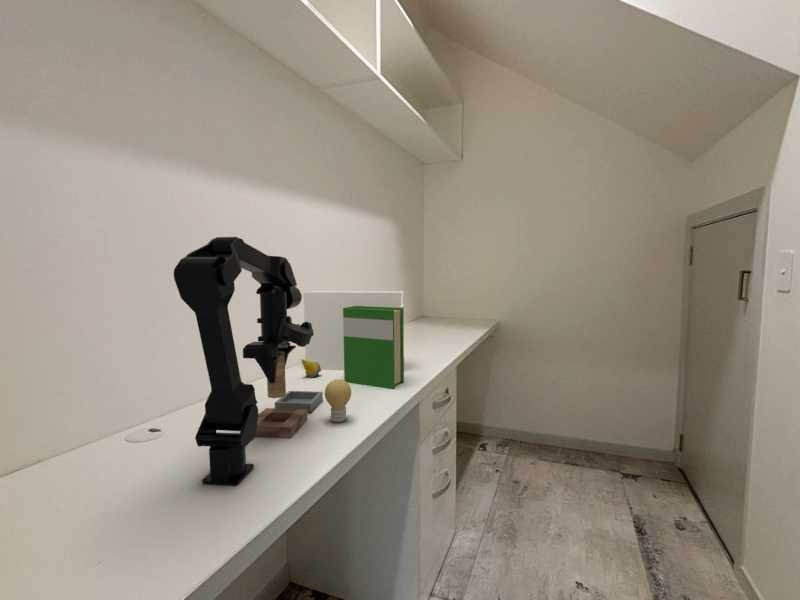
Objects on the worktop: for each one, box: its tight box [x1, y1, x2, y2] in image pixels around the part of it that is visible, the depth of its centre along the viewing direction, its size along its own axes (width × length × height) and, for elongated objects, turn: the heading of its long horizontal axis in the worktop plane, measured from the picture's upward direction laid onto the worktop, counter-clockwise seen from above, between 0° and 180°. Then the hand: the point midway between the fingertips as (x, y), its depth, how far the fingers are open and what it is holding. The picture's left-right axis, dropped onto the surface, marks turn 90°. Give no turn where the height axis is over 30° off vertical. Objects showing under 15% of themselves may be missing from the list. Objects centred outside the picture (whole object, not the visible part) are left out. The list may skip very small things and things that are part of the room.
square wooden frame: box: [255, 407, 308, 439], centre depth 92 cm, size 10×10×2 cm
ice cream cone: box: [300, 358, 322, 378], centre depth 133 cm, size 5×5×10 cm
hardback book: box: [343, 306, 405, 390], centre depth 126 cm, size 18×7×24 cm, turn 64°
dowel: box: [266, 351, 287, 399], centre depth 91 cm, size 4×4×10 cm
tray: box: [274, 390, 324, 414], centre depth 106 cm, size 10×10×2 cm
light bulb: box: [324, 379, 352, 423], centre depth 96 cm, size 6×6×10 cm
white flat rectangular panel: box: [303, 290, 405, 372], centre depth 143 cm, size 35×8×28 cm, turn 81°
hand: (276, 380), depth 91 cm, fingers closed on dowel, 4 cm apart
